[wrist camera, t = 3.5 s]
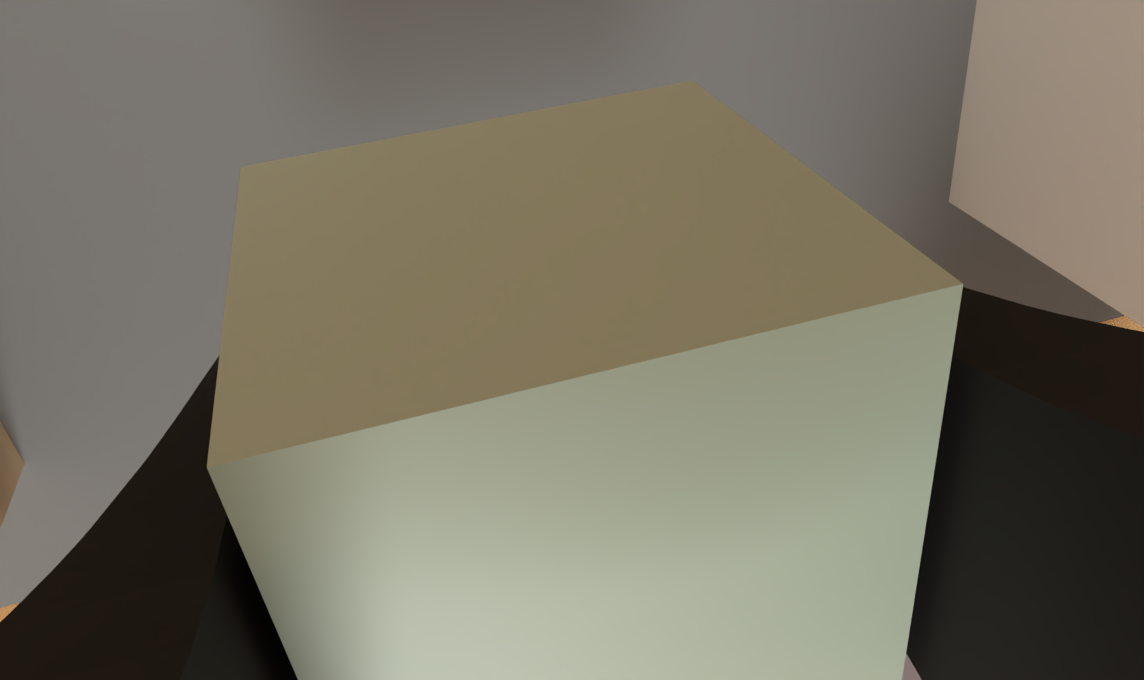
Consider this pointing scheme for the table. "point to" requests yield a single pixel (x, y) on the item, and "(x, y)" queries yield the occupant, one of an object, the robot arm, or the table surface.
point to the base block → (8, 471)
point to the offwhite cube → (1059, 138)
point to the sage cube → (579, 403)
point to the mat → (366, 114)
